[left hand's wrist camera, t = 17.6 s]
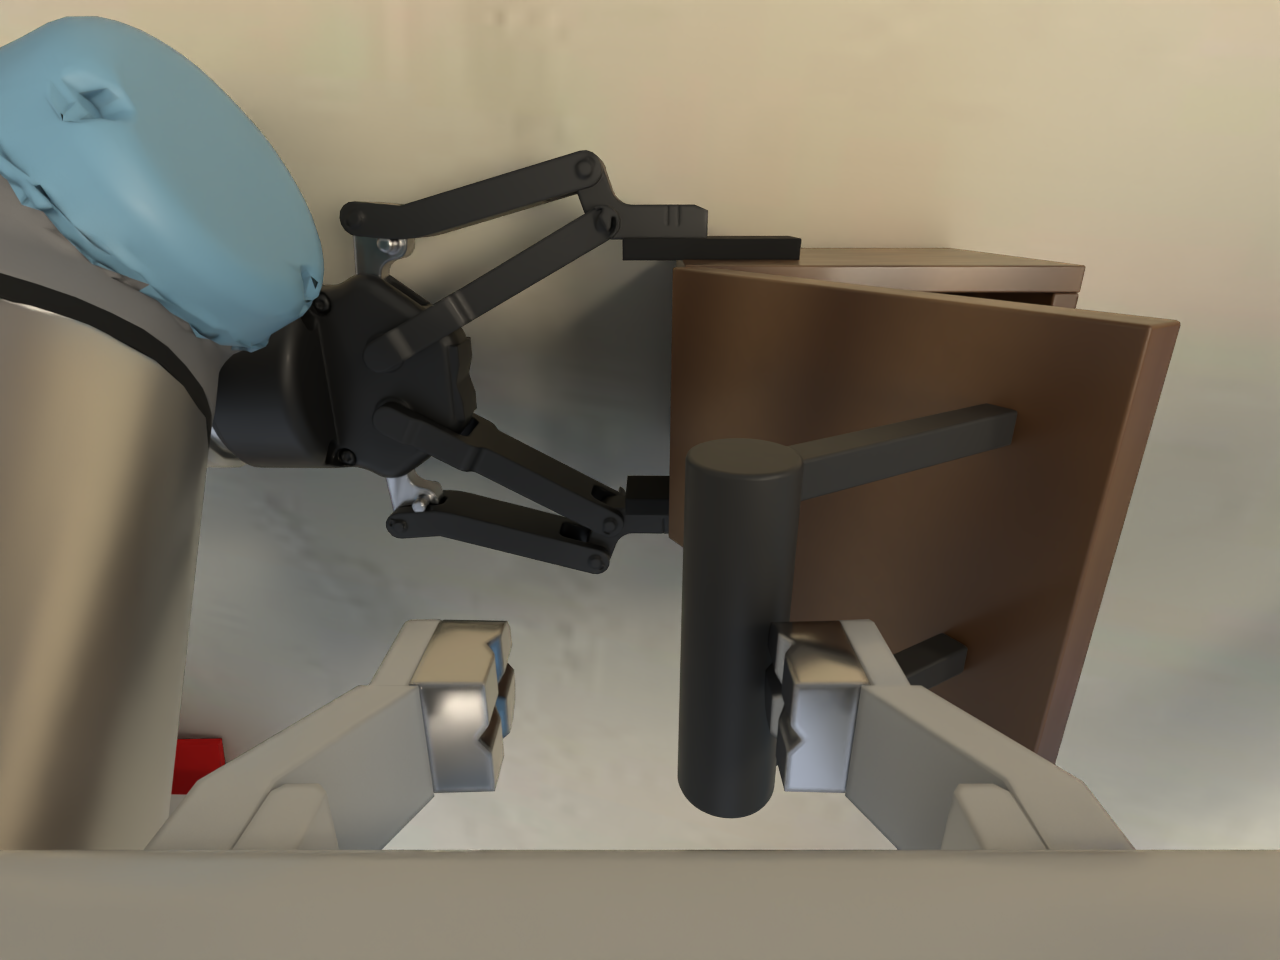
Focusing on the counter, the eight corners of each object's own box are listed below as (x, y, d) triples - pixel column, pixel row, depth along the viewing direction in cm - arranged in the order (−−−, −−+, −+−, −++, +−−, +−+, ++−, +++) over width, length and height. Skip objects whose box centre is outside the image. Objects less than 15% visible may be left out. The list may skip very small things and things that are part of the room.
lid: (1183, 320, 11) (814, 378, 7) (1054, 772, 15) (758, 972, 11) (698, 266, 22) (449, 277, 18) (690, 531, 26) (480, 588, 22)
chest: (951, 247, 33) (1087, 265, 22) (921, 439, 36) (1026, 531, 26) (676, 248, 33) (684, 265, 23) (673, 438, 36) (679, 527, 26)
